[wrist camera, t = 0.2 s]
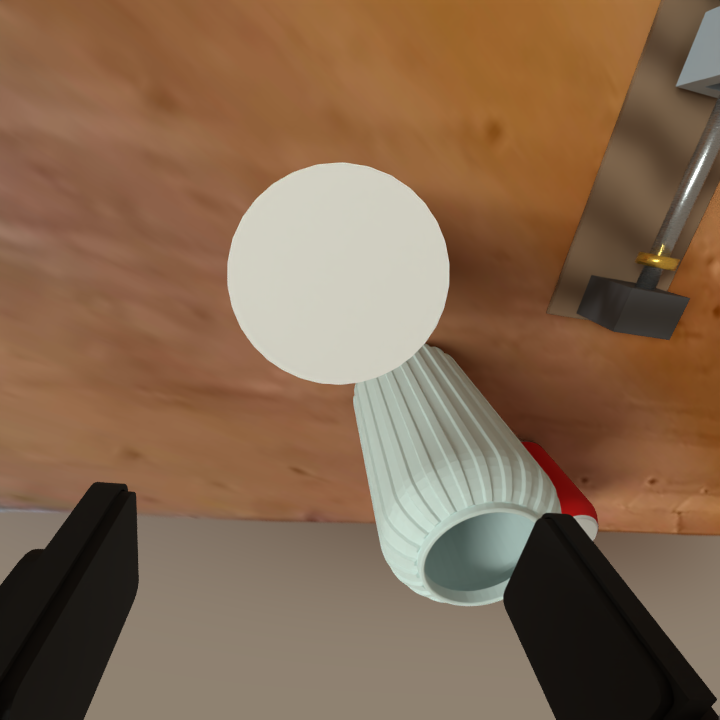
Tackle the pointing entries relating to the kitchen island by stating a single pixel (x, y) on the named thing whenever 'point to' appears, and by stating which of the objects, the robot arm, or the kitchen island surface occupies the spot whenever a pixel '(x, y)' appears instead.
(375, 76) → the kitchen island surface
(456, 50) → the kitchen island surface
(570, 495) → the beverage can
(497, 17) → the kitchen island surface
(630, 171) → the slide base
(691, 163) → the metal rod
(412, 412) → the vase
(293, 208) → the cylindrical container
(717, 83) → the grey sliding block
